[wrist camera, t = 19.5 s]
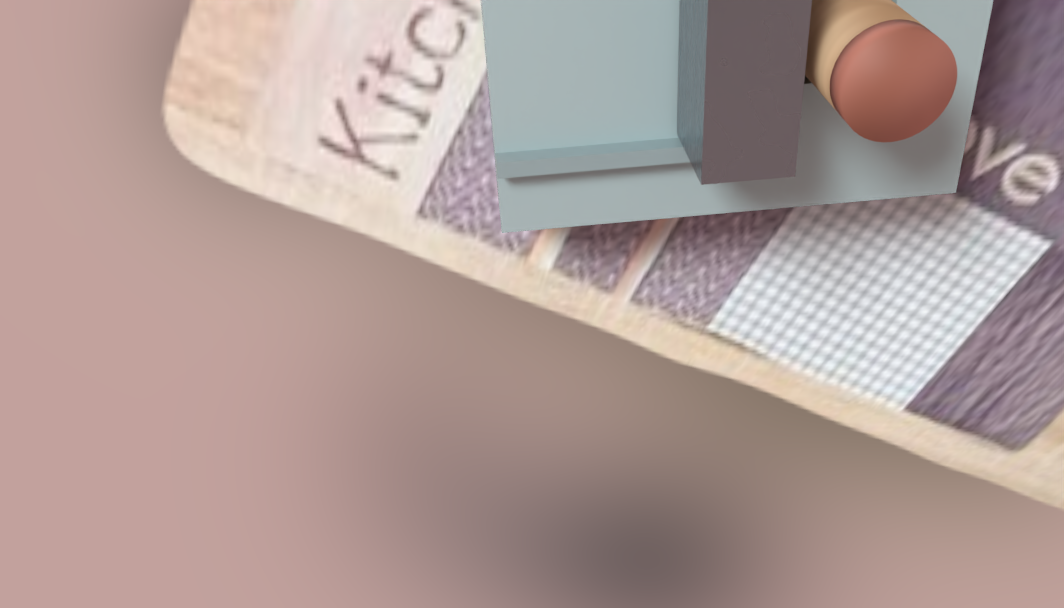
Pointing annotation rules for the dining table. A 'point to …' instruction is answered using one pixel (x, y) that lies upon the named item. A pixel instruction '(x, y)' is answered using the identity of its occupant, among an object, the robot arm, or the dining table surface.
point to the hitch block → (651, 120)
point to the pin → (878, 67)
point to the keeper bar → (741, 86)
